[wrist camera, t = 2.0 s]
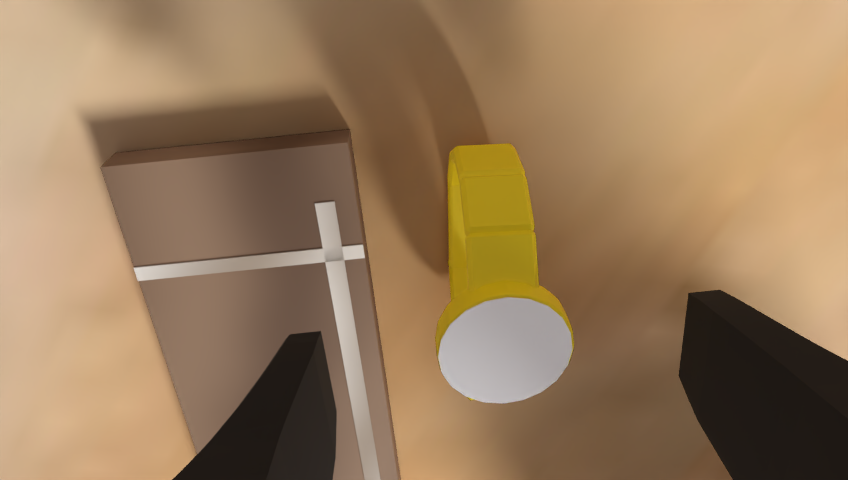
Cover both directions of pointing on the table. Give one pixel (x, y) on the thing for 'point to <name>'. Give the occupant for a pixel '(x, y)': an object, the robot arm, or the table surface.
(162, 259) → the board
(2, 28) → the table surface
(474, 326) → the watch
